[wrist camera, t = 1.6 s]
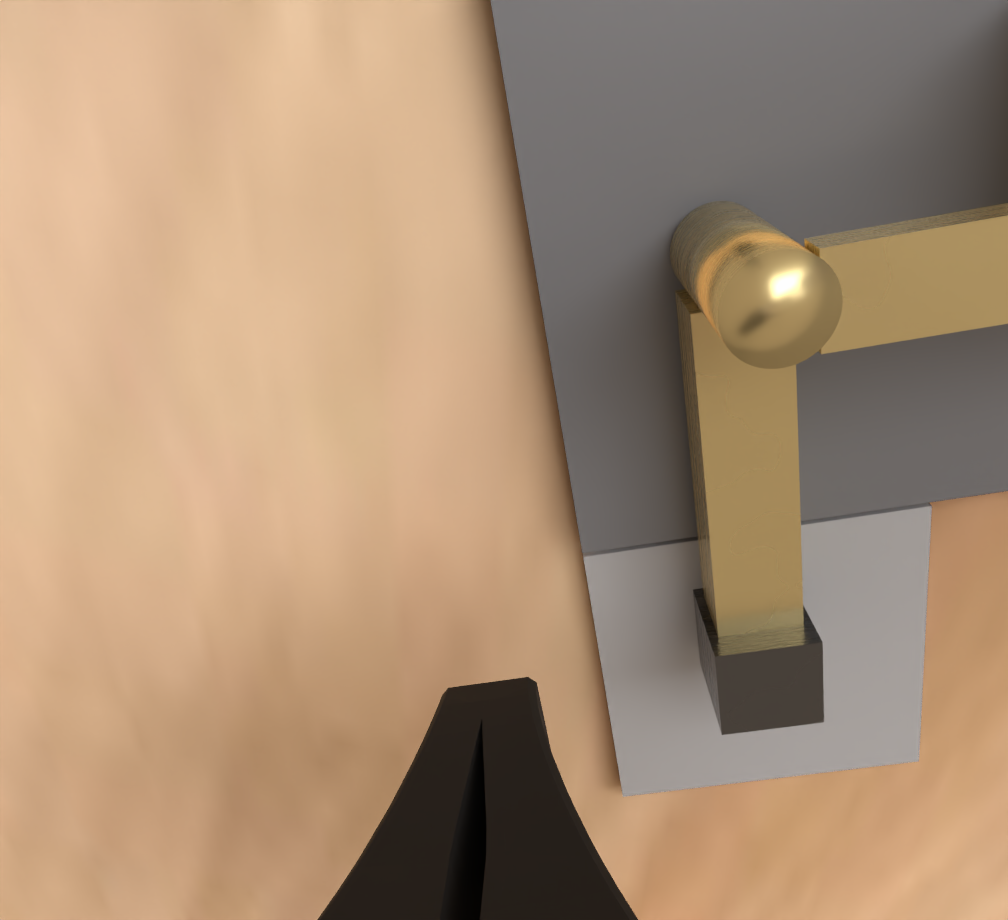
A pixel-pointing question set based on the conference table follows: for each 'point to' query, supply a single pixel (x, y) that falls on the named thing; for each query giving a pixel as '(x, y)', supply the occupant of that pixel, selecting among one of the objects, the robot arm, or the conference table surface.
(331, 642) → the conference table surface
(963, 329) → the l-shaped bracket
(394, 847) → the robot arm
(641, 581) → the felt pad
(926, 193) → the base plate
